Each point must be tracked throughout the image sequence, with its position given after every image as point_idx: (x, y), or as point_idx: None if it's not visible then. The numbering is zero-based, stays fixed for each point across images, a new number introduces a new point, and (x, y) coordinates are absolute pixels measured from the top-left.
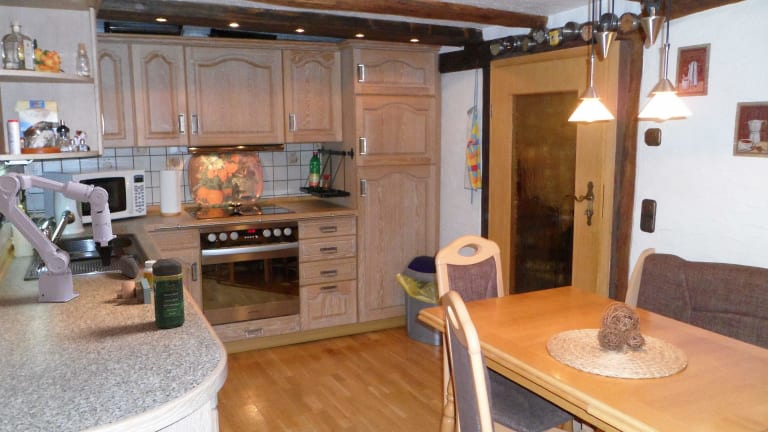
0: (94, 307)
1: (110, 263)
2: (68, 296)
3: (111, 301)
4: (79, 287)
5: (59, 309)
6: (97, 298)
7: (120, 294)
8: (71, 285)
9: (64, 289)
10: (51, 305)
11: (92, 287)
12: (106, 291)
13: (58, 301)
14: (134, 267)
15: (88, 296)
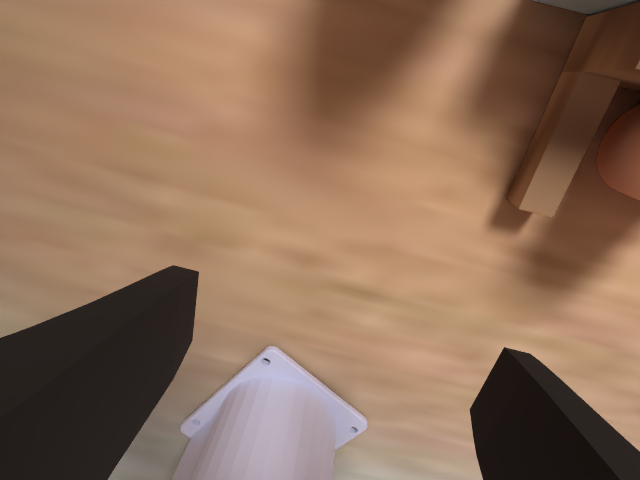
0: (599, 355)
1: (551, 372)
2: (331, 416)
3: (557, 250)
4: (71, 293)
5: (478, 464)
6: (410, 290)
7: (562, 193)
8: (303, 445)
9: (332, 470)
10: (374, 467)
11: (109, 239)
12: (270, 201)
13: (342, 442)
14: None
15: (323, 313)
